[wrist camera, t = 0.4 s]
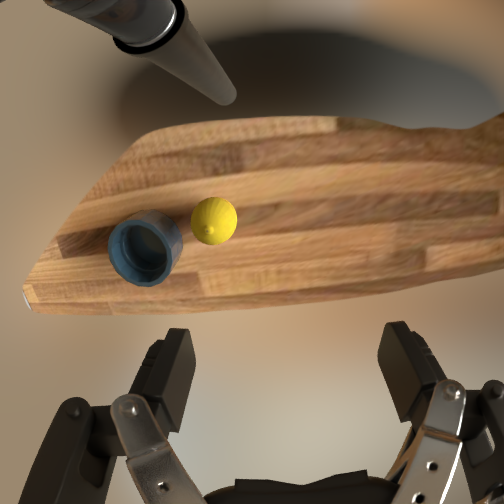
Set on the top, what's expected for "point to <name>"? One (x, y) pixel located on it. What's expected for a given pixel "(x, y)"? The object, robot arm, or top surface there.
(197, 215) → the lemon
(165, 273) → the bowl
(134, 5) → the robot arm
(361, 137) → the top surface
